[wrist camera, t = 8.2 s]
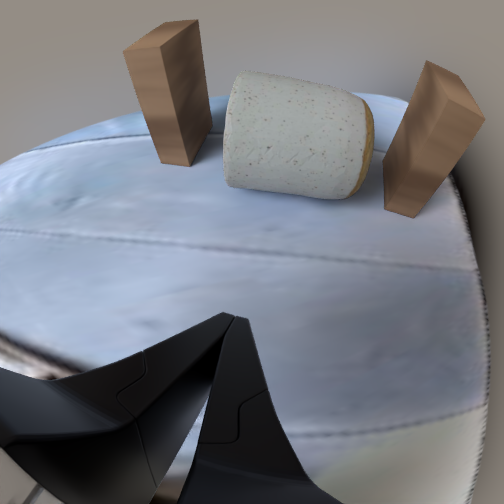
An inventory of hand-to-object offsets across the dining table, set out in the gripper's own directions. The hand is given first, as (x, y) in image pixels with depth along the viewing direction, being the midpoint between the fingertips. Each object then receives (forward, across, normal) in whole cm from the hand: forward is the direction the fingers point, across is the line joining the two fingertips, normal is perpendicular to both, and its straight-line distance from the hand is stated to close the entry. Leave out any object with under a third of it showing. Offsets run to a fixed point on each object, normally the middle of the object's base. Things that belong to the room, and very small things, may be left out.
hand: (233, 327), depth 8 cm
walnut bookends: (+14, 0, -5) cm, 15 cm away
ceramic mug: (+14, 0, -5) cm, 15 cm away
